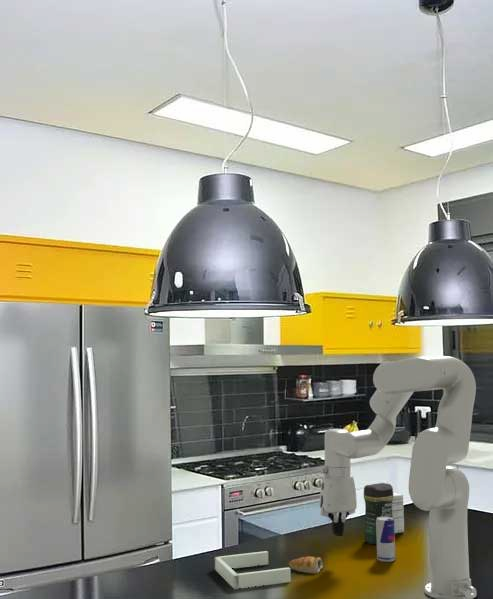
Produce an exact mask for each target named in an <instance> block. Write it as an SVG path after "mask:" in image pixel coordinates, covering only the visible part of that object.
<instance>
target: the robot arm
mask: <svg viewBox="0 0 493 599" xmlns="http://www.w3.org/2000/svg"><path fill="white" fill-rule="evenodd" d="M372 382H373V384H374V387H375V389H376V390H375V391H374V393H373V394H372V396H371V397H370V399H369V406H370V408H371V410H372V411H373V412H374V413H375V418H374V420H373V421H372V422H371V424H370V425H369V426H368V428H367V429H362V430H357V431H349V430H347V429H345V428H329V429H326V430H325V432H324V465H323V466H324V467H323V468H320V473H321V474H323V475H322V479H321V485H320V491H319V492H320V493H319V506H320V516H323V517H327V518H329V520H331V530H332V534H333V535H334V536H336V537H343V536H344V531H345V529H344V528H345V527H344V525H345V522H346V520H347V518H348V517H349V516H350V515H353V514H355V513H356V509H357V503H358V502H357V492H356V483H355V479H354V475H353V476H352V475H351V460H354V459H361V458H364V457H370V456H375V455H378V454H379V453H380V452H381V451H382V450H383V449H384V448H385V447H386V446H387V444H388V443H389V442H390V440H391V438H393V435H394V433H395V430H396V425H397V416H398V415H399V413H400V411H401V410H403V408H404V406H405V405H406V404H407V402H408V400H409V399H410V398H411V396H412V395H413V394H414V392H422V391H423V392H425V391H435V390H443V391H444V392H443V395H442V397H441V399H440V400H439V405H438V407H437V417H436V423H435V426H434V427H431V428H426V429H424V430H422V431H421V432H420V433H419V434H418V435H417V436H416V438H415V440H414V443H413V446H412V451H411V452H412V453H411V460H410V469H409V477H408V494H409V497H410V499H411V501H412V503H413V505H414V506H416V508H418V509H420V510H422V511H426V512H427V511H429V515H428V543H429V546H428V547H429V565H430V566H429V567H430V568H429V569H430V570H429V571H430V583H427V584H426V585H425V586H424V592H425V594H426V595H427V596H429V597H430V598H433V599H474V598H476V597H477V589H476V588H475V587H474V586H472V579H471V578H470V563H469V562H470V561H469V541H468V540H469V539H468V507H469V500H470V484H469V480H468V478H467V476H466V474H465V473H464V472H463V471H462V470H461V469H459V468H457V467H454V466H451V465H453V464H456V463H460V462H462V461H463V460H464V459H465V458H467V456H468V453H469V448H470V440H471V431H472V422H473V411H474V404H475V399H476V392H477V391H476V390H477V384H476V379H475V375H474V373H473V372H472V369H471V368H470V366H468V365H467V364H466V363H465V362H463V360H461V359H459V358H457V357H454V356H448V355H447V356H446V355H438V356H436V355H435V356H419V357H418V356H417V357H414V358H413V357H411V358H407V359H400V360H392V361H385V362H383V363H380V364H379V365H378V366H377V367H376V368H375V369H374V372H373V377H372ZM448 465H450V466H448Z"/></svg>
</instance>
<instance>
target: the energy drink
mask: <svg viewBox="0 0 493 599" xmlns="http://www.w3.org/2000/svg"><path fill="white" fill-rule="evenodd" d="M376 537H377V544H376V558H377V561H379V562H383V563H390V562H394V561H395V560H396V558H397V557H396V539H395V538H396V533H395V528H394V520H393V518H392V517H386V516H382V517H377V520H376Z"/></svg>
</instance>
